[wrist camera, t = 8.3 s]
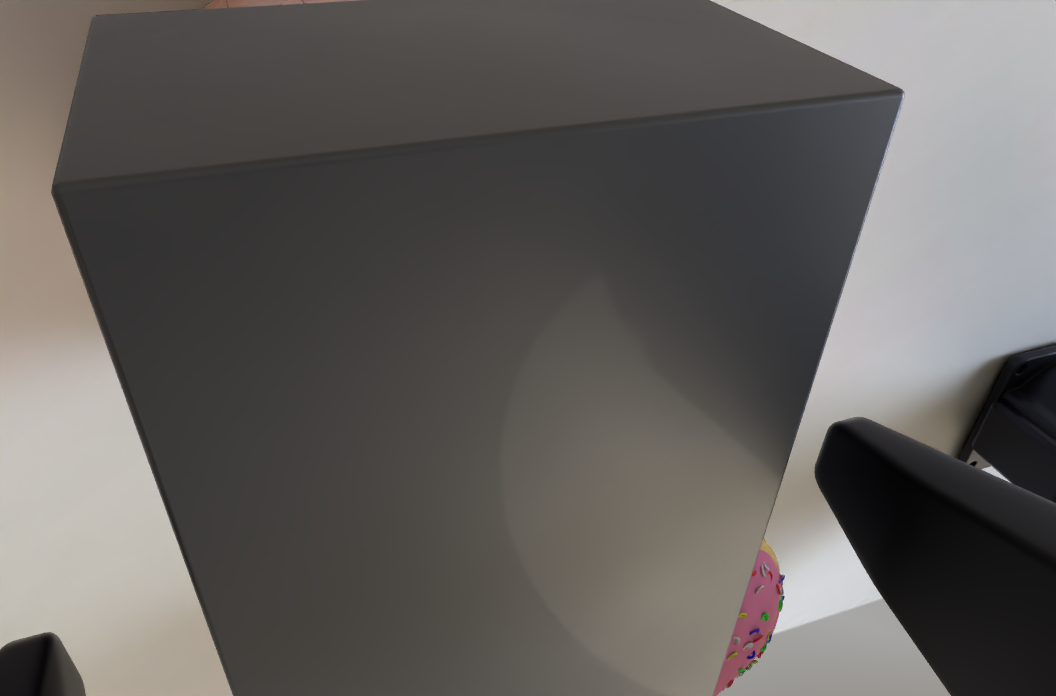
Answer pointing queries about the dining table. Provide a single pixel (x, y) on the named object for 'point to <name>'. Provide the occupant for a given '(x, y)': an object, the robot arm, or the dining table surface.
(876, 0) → the dining table surface
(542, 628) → the black bar
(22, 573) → the dining table surface
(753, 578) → the cupcake
